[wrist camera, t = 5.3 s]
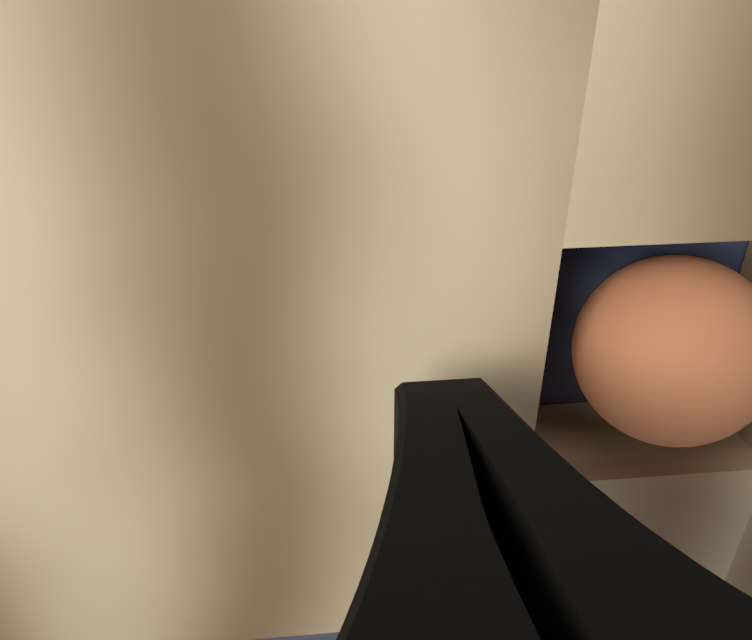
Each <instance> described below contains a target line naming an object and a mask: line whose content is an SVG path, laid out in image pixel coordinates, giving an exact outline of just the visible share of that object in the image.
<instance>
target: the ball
mask: <svg viewBox="0 0 752 640" xmlns="http://www.w3.org/2000/svg"><path fill="white" fill-rule="evenodd" d="M571 351H572V364H573V368H574V373H575V376H576V378H577V381H578V384H579V386H580V388H581V390H582V392H583V394H584V396H585V397H586V399H587V400H588V402H589V403H590V404H591V406H592V407H593V408H594V410H595V411H596V412H597V413H598V414H599V415H600V416H601V417H602V418H603V419H604V420H606V421H607V422H608V423H609V424H611V425H612V426H614V427H615V428H616V429H618V430H619V431H621V432H623V433H625V434H627V435H628V436H630V437H633V438H635V439H638V440H640V441H643V442H646V443H650V444H654V445H659V446H665V447H694V446H700V445H705V444H709V443H713V442H716V441H719V440H722V439H724V438H726V437H729V436H731V435H733V434H734V433H736V432H738V431H739V430H741V429H742V428H744V427H745V426H746V425H748V424H749V423H750V422H752V283H751V282H750V281H748V280H747V279H746V278H745V277H744V276H742V275H740V274H739V273H737V272H736V271H734V270H733V269H731V268H728V267H726V266H724V265H722V264H720V263H718V262H715V261H712V260H709V259H706V258H701V257H696V256H690V255H662V256H654V257H650V258H646V259H642V260H639V261H637V262H634V263H631V264H629V265H627V266H625V267H623V268H621V269H619V270H617V271H616V272H614V273H613V274H611V275H610V276H608V277H607V278H606V279H605V280H604V281H603V282H602V283H601V284H599V285H598V286H597V287H596V288H595V289H594V291H593V292H592V293H591V294H590V295H589V297H588V298H587V300H586V302H585V303H584V305H583V306H582V308H581V310H580V312H579V315H578V317H577V319H576V323H575V327H574V331H573V335H572V344H571Z"/></svg>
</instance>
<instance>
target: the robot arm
mask: <svg viewBox="0 0 752 640" xmlns="http://www.w3.org/2000/svg"><path fill="white" fill-rule="evenodd" d="M336 640H752V597H751V596H749V595H747V594H746V593H744V592H742V591H741V590H739V589H737V588H736V587H734V586H733V585H731V584H729V583H728V582H726V581H725V580H723V579H722V578H720V577H718V576H717V575H715V574H714V573H712V572H711V571H709V570H708V569H706V568H705V567H703V566H702V565H700V564H699V563H697V562H696V561H694V560H693V559H691V558H690V557H689V556H687V555H686V554H684V553H683V552H681V551H680V550H679V549H677V548H676V547H674V546H673V545H672V544H670V543H669V542H667V541H666V540H664V539H663V538H662V537H660V536H659V535H657V534H656V533H655V532H653V531H652V530H650V529H649V528H648V527H646V526H645V525H644V524H642V523H641V522H640V521H638V520H637V519H636V518H634V517H633V516H632V515H630V514H629V513H628V512H627V511H625V510H624V509H623V508H622V507H620V506H619V505H618V504H617V503H615V502H614V501H613V500H612V499H610V498H609V497H608V496H607V495H606V494H604V493H603V492H602V491H601V490H599V489H598V488H597V487H596V486H595V485H593V484H592V483H591V482H590V481H588V480H587V479H586V478H585V477H584V476H583V475H582V474H580V473H579V472H578V471H577V470H576V469H575V468H574V467H573V466H572V465H570V464H569V463H568V462H567V461H566V460H565V459H564V458H563V457H562V456H561V455H559V454H558V453H557V452H556V451H555V450H554V449H553V448H552V447H551V446H550V445H549V444H547V443H546V442H545V441H544V440H543V439H542V438H541V437H540V436H539V435H538V434H537V433H536V432H535V431H534V430H533V429H532V428H531V427H530V426H529V425H528V424H527V423H526V422H525V421H524V420H523V419H522V418H521V417H520V416H519V415H518V414H517V413H516V412H515V411H514V410H513V409H512V408H511V407H510V406H509V405H508V404H507V403H506V402H505V401H504V400H503V399H502V398H501V397H500V396H499V395H498V394H497V393H496V392H495V391H494V390H493V389H492V388H491V387H490V386H489V385H488V384H487V383H486V382H484V381H483V380H482V379H481V378H466V379H449V380H433V381H416V382H402V383H401V384H400V385H398V386H397V387H396V388H395V389H394V460H393V466H392V472H391V477H390V482H389V486H388V490H387V494H386V498H385V502H384V506H383V509H382V513H381V517H380V521H379V525H378V528H377V531H376V535H375V538H374V541H373V544H372V547H371V550H370V553H369V557H368V559H367V562H366V565H365V568H364V571H363V574H362V576H361V579H360V582H359V585H358V587H357V590H356V593H355V595H354V598H353V600H352V602H351V605H350V607H349V610H348V612H347V615H346V617H345V620H344V622H343V625H342V627H341V630H340V632H339V635H338V637H337V639H336Z"/></svg>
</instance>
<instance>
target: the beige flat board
mask: <svg viewBox="0 0 752 640" xmlns="http://www.w3.org/2000/svg"><path fill="white" fill-rule="evenodd" d="M730 241H749V244H748V247H747V250H746V254H745V257H744V260H743V263H742V267H741V270H740V273H739V274H740V275H742V276H744V277H745V278H746V279H747V280H748V281H750V282H751V283H752V0H0V640H254V639H265V638H277V637H288V636H299V635H311V634H322V633H333V632H340V630H341V627H342V625H343V622H344V620H345V617H346V615H347V612H348V610H349V607H350V605H351V602H352V600H353V598H354V595H355V593H356V590H357V587H358V585H359V582H360V579H361V576H362V574H363V571H364V568H365V565H366V562H367V559H368V557H369V553H370V550H371V547H372V544H373V541H374V538H375V535H376V531H377V528H378V525H379V521H380V517H381V513H382V509H383V506H384V502H385V498H386V494H387V490H388V486H389V482H390V477H391V472H392V466H393V460H394V389H395V388H396V387H397V386H398V385H400V384H401V383H402V382H416V381H433V380H449V379H466V378H481V379H482V380H483V381H484V382H486V383H487V384H488V385H489V386H490V387H491V388H492V389H493V390H494V391H495V392H496V393H497V394H498V395H499V396H500V397H501V398H502V399H503V400H504V401H505V402H506V403H507V404H508V405H509V406H510V407H511V408H512V409H513V410H514V411H515V412H516V413H517V414H518V415H519V416H520V417H521V418H522V419H523V420H524V421H525V422H526V423H527V424H528V425H529V426H530V427H531V428H532V429H533V430H534V431H535V432H536V433H537V434H538V435H539V436H540V437H541V438H542V439H543V440H544V441H545V442H546V443H547V444H549V445H550V446H551V447H552V448H553V449H554V450H555V451H556V452H557V453H558V454H559V455H561V456H562V457H563V458H564V459H565V460H566V461H567V462H568V463H569V464H570V465H572V466H573V467H574V468H575V469H576V470H577V471H578V472H579V473H580V474H582V475H583V476H584V477H585V478H586V479H587V480H588V481H590V482H591V483H592V484H593V485H595V486H596V487H597V488H598V489H599V490H601V491H602V492H603V493H604V494H606V495H607V496H608V497H609V498H610V499H612V500H613V501H614V502H615V503H617V504H618V505H619V506H620V507H622V508H623V509H624V510H625V511H627V512H628V513H629V514H630V515H632V516H633V517H634V518H636V519H637V520H638V521H640V522H641V523H642V524H644V525H645V526H646V527H648V528H649V529H650V530H652V531H653V532H655V533H656V534H657V535H659V536H660V537H662V538H663V539H664V540H666V541H667V542H669V543H670V544H672V545H673V546H674V547H676V548H677V549H679V550H680V551H681V552H683V553H684V554H686V555H687V556H689V557H690V558H691V559H693V560H694V561H696V562H697V563H699V564H700V565H702V566H703V567H705V568H706V569H708V570H709V571H711V572H712V573H714V574H715V575H717V576H718V577H720V578H722V579H723V580H725V581H726V582H728V583H729V584H731V585H733V586H734V587H736V588H737V589H739V590H741V591H742V592H744V593H746V594H747V595H749V596H752V422H750V423H749V424H748V425H746V426H745V427H744V428H742V429H741V430H739V431H738V432H736V433H734V434H733V435H731V436H729V437H726V438H724V439H722V440H719V441H716V442H713V443H709V444H705V445H700V446H694V447H665V446H659V445H654V444H650V443H646V442H643V441H640V440H638V439H635V438H633V437H630V436H628V435H627V434H625V433H623V432H621V431H619V430H618V429H616V428H615V427H614V426H612V425H611V424H609V423H608V422H607V421H606V420H604V419H603V418H602V417H601V416H600V415H599V414H598V413H597V412H596V411H595V410H594V408H593V407H592V406H591V404H590V403H589V402H579V403H563V404H547V405H539V400H540V394H541V387H542V380H543V374H544V367H545V360H546V354H547V347H548V341H549V334H550V327H551V321H552V314H553V308H554V301H555V294H556V288H557V281H558V275H559V268H560V261H561V255H562V248H586V247H610V246H634V245H658V244H682V243H706V242H730Z"/></svg>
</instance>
